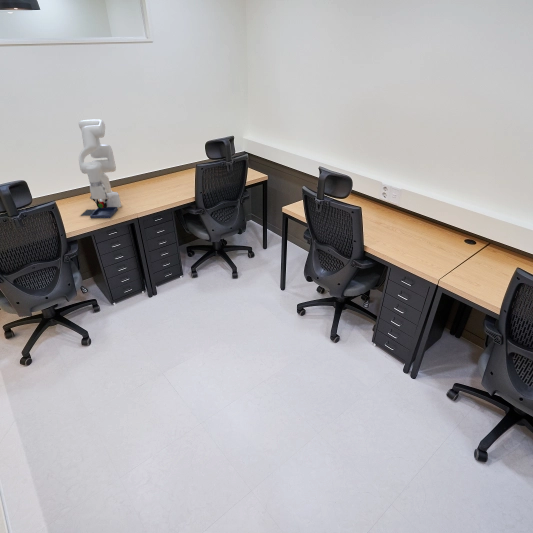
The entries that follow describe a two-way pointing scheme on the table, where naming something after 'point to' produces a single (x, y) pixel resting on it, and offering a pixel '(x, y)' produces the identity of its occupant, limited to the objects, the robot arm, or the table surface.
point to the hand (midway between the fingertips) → (102, 206)
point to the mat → (87, 212)
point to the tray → (104, 212)
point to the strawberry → (101, 204)
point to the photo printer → (113, 200)
